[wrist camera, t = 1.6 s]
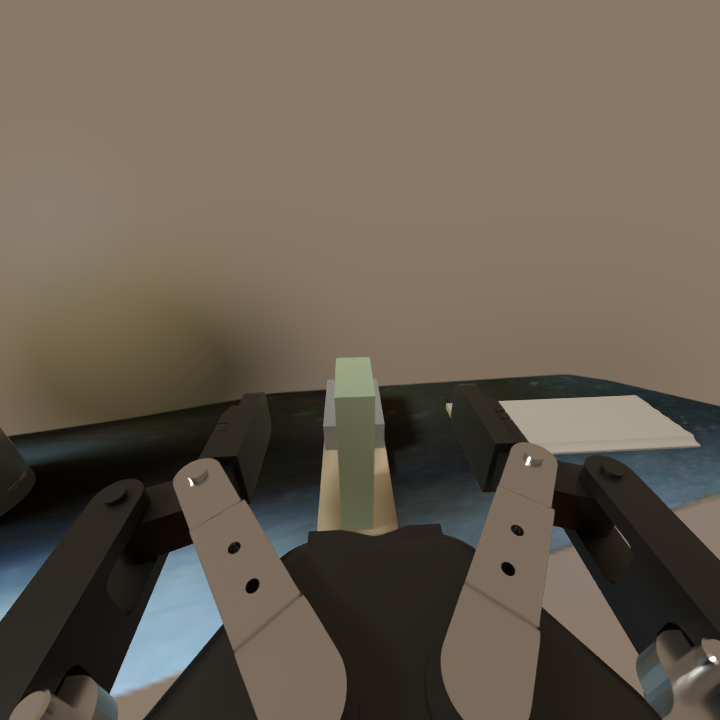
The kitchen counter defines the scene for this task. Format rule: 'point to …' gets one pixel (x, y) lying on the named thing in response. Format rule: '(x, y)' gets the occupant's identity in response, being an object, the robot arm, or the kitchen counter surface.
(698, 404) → the kitchen counter surface
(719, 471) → the kitchen counter surface
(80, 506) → the kitchen counter surface
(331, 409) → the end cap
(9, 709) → the robot arm
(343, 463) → the slat
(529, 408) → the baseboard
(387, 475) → the board
